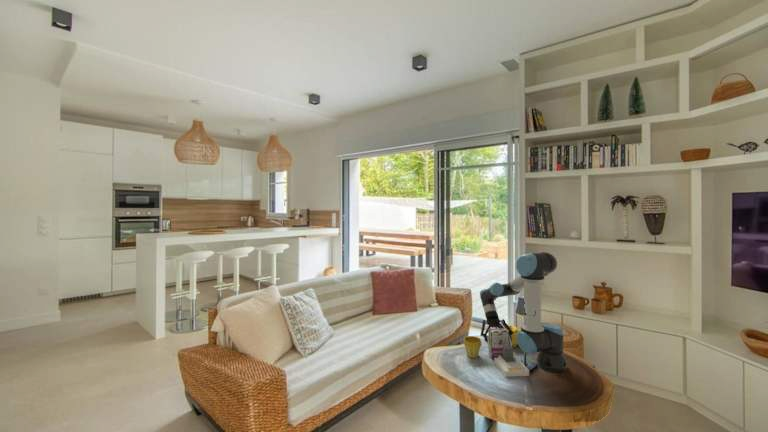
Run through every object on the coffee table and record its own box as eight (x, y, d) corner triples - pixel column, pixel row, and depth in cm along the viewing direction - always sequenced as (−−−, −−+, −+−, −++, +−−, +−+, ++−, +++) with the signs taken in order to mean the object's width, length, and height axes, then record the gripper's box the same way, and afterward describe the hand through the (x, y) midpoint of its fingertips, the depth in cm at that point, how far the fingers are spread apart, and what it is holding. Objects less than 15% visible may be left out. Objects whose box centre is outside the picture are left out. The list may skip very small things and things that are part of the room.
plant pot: (479, 351, 204) (478, 335, 203) (483, 359, 193) (483, 342, 193) (462, 351, 204) (462, 335, 204) (466, 359, 194) (465, 343, 193)
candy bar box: (505, 354, 199) (505, 327, 199) (509, 357, 194) (509, 330, 194) (488, 355, 198) (488, 328, 198) (491, 359, 193) (491, 331, 193)
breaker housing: (516, 362, 189) (516, 354, 189) (529, 375, 174) (529, 367, 174) (494, 362, 189) (494, 355, 188) (505, 376, 174) (505, 368, 173)
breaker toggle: (511, 357, 187) (511, 345, 187) (514, 361, 183) (514, 349, 183) (501, 358, 187) (501, 346, 187) (504, 361, 183) (504, 349, 183)
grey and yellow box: (493, 337, 224) (493, 319, 224) (525, 342, 215) (525, 323, 215) (491, 345, 212) (490, 326, 211) (524, 350, 203) (524, 331, 203)
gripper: (508, 315, 211) (518, 348, 197) (470, 316, 210) (478, 349, 196) (511, 309, 206) (522, 343, 191) (473, 310, 205) (481, 345, 190)
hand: (500, 346), depth 193 cm, fingers open, 12 cm apart
